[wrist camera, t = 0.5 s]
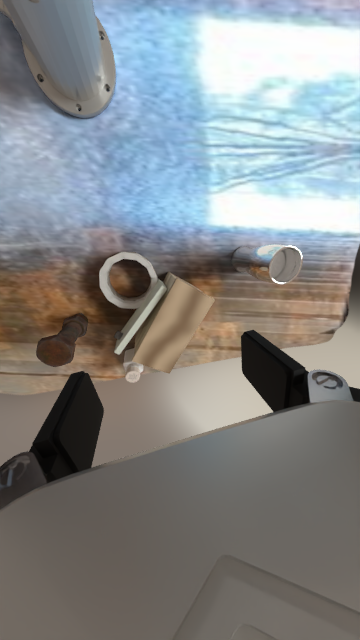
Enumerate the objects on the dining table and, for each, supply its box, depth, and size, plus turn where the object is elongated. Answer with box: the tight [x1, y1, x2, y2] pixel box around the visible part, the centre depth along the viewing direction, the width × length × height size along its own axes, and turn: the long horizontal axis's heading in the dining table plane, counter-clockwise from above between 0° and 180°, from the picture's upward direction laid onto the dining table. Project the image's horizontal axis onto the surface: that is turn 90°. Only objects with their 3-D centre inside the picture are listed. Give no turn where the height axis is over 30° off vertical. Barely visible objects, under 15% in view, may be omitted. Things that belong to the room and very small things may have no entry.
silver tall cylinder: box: [231, 244, 303, 284], centre depth 39 cm, size 7×7×15 cm
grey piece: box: [99, 252, 167, 355], centre depth 36 cm, size 12×18×8 cm, turn 142°
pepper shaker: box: [123, 348, 143, 382], centre depth 45 cm, size 4×4×10 cm
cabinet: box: [108, 252, 215, 373], centre depth 39 cm, size 21×19×12 cm
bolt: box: [36, 313, 88, 367], centre depth 36 cm, size 6×5×15 cm
